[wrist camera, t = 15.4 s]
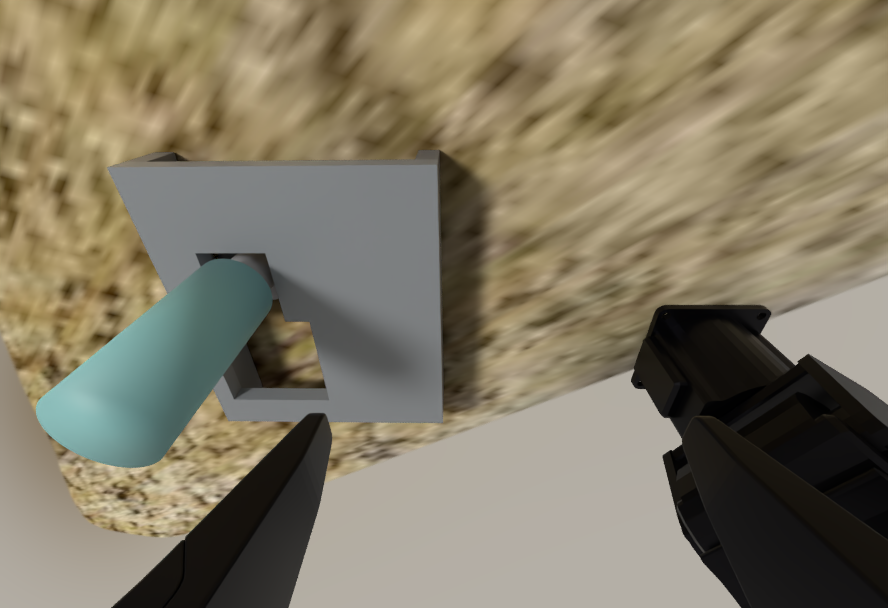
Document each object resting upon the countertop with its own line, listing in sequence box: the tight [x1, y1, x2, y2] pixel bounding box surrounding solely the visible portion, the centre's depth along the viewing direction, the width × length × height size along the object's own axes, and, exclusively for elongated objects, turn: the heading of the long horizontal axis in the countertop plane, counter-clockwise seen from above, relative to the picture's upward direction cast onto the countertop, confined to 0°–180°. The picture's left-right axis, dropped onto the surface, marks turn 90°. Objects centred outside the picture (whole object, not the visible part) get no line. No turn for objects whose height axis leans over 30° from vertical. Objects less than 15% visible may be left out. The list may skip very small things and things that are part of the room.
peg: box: [36, 253, 279, 468], centre depth 17 cm, size 4×4×12 cm
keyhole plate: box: [107, 150, 444, 423], centre depth 21 cm, size 14×16×3 cm
